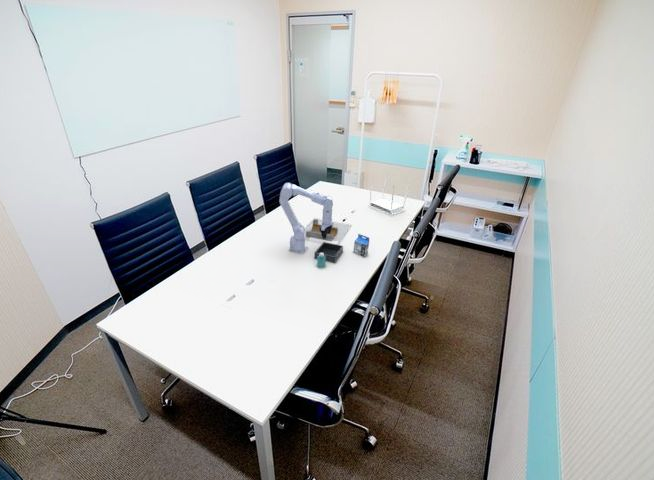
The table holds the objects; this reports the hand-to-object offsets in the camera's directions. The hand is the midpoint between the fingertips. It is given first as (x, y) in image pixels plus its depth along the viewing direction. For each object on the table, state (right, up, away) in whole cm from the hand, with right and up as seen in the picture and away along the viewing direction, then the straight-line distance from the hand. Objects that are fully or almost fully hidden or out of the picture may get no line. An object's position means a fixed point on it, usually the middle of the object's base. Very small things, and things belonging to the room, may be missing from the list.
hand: (326, 236), depth 212 cm
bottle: (-4, -19, -11) cm, 22 cm away
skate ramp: (+1, +6, +29) cm, 30 cm away
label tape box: (+22, -11, +2) cm, 25 cm away
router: (+54, +29, +66) cm, 90 cm away
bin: (+2, -12, 0) cm, 12 cm away
